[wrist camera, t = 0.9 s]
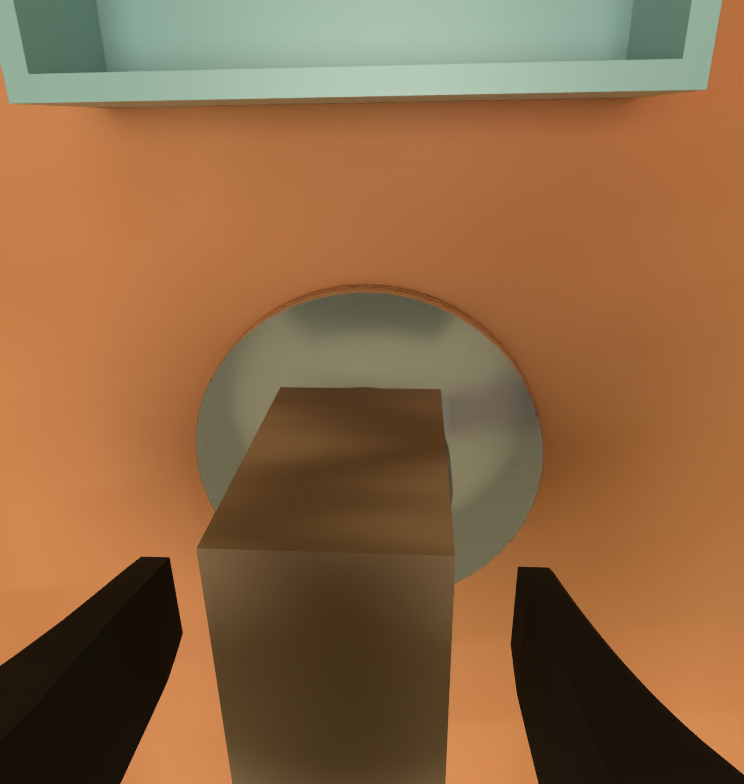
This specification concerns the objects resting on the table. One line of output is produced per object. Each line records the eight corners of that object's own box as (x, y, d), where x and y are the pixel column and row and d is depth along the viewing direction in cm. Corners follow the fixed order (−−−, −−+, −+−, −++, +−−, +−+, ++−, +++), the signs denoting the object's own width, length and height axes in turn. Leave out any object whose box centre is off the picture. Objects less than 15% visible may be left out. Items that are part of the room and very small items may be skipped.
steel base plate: (552, 284, 17) (560, 294, 16) (523, 584, 21) (527, 605, 20) (186, 284, 17) (173, 293, 17) (225, 574, 21) (216, 594, 20)
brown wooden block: (453, 367, 17) (481, 556, 10) (447, 551, 19) (465, 817, 12) (277, 365, 17) (171, 547, 10) (291, 546, 20) (215, 802, 12)
